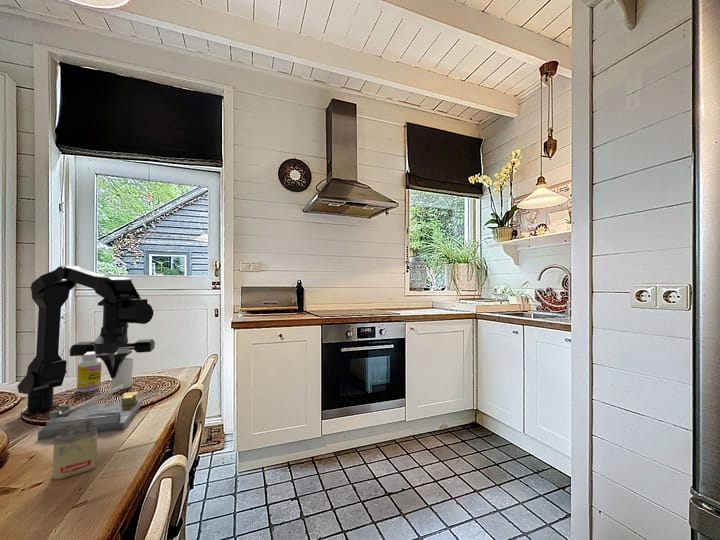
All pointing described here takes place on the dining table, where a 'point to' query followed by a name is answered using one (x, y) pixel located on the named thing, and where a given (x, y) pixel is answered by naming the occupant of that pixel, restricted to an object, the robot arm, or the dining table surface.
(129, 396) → the pale yellow lumpy block
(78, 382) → the supplement bottle
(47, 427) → the grey stone tray
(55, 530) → the dining table surface
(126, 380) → the white cup
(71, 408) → the strap
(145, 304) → the robot arm
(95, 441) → the pale red-labelled box
